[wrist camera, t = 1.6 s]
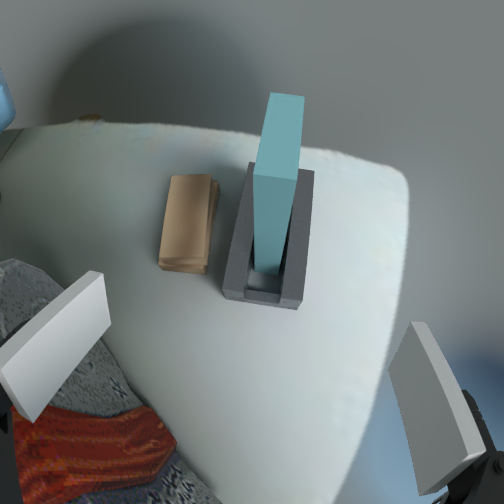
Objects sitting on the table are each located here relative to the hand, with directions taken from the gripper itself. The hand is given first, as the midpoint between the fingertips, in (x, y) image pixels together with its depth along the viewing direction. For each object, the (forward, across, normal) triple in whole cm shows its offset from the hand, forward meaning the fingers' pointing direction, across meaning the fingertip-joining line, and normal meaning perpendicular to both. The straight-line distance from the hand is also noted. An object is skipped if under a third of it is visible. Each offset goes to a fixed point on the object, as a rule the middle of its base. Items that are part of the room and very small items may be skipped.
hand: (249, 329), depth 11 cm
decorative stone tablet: (+7, -12, -20) cm, 24 cm away
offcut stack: (+22, -9, -4) cm, 25 cm away
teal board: (+22, 0, -4) cm, 23 cm away
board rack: (+22, 0, -4) cm, 23 cm away
